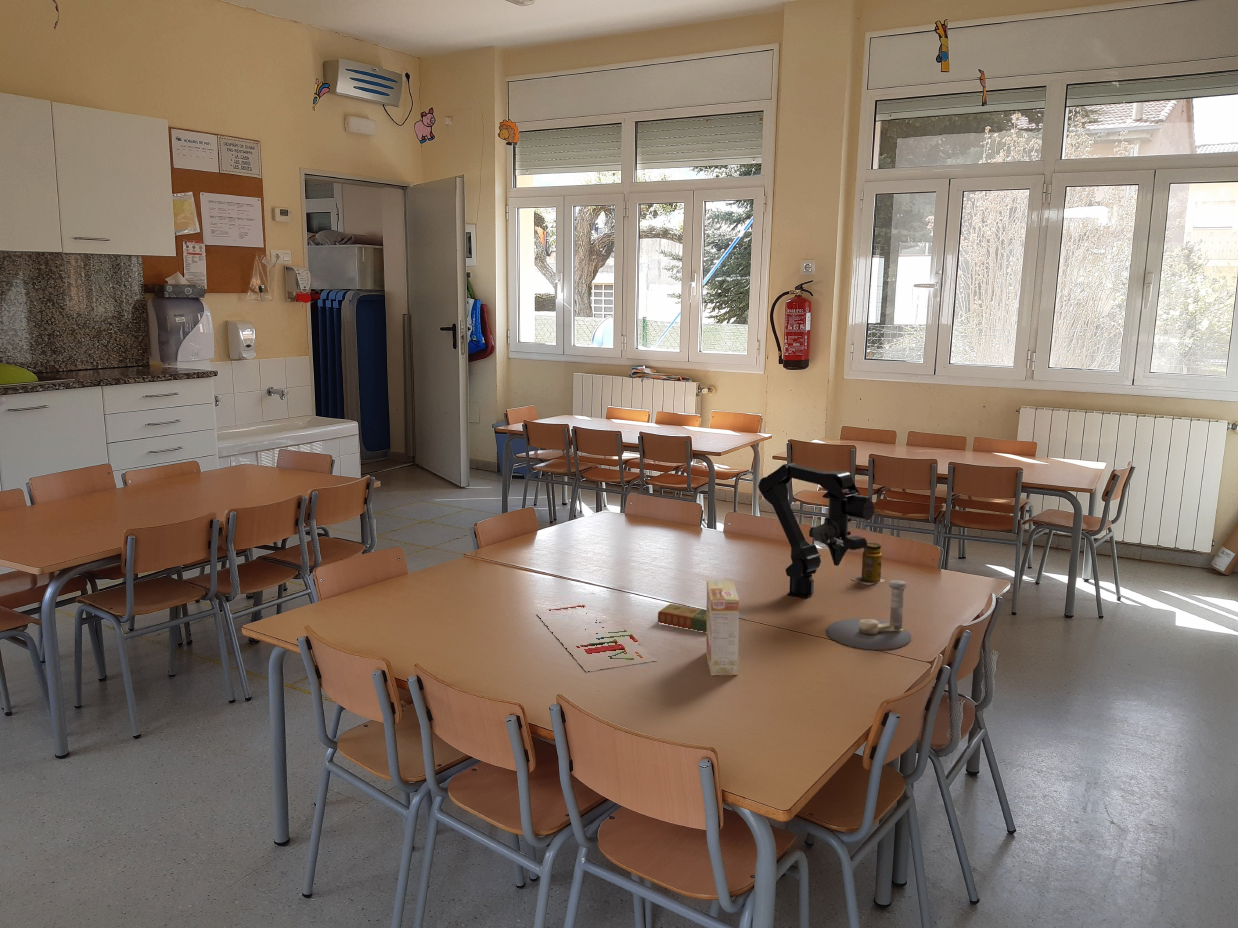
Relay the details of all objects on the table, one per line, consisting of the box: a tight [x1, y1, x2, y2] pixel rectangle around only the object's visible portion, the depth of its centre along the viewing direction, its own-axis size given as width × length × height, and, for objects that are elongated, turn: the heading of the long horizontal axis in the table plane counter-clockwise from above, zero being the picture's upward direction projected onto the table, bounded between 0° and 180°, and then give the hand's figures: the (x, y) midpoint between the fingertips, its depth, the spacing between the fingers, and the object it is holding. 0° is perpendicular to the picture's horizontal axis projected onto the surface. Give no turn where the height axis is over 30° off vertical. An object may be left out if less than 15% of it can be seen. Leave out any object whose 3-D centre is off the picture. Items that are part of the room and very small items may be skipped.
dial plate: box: [826, 617, 912, 651], centre depth 242 cm, size 22×22×1 cm
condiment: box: [852, 542, 887, 586], centre depth 289 cm, size 7×8×12 cm
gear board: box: [548, 604, 643, 660], centre depth 243 cm, size 45×2×19 cm
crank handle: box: [859, 579, 907, 634], centre depth 242 cm, size 13×5×13 cm, turn 101°
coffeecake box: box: [705, 579, 740, 676], centre depth 222 cm, size 15×7×20 cm, turn 178°
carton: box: [657, 603, 707, 632], centre depth 251 cm, size 8×16×4 cm, turn 61°
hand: (836, 565), depth 265 cm, fingers closed
